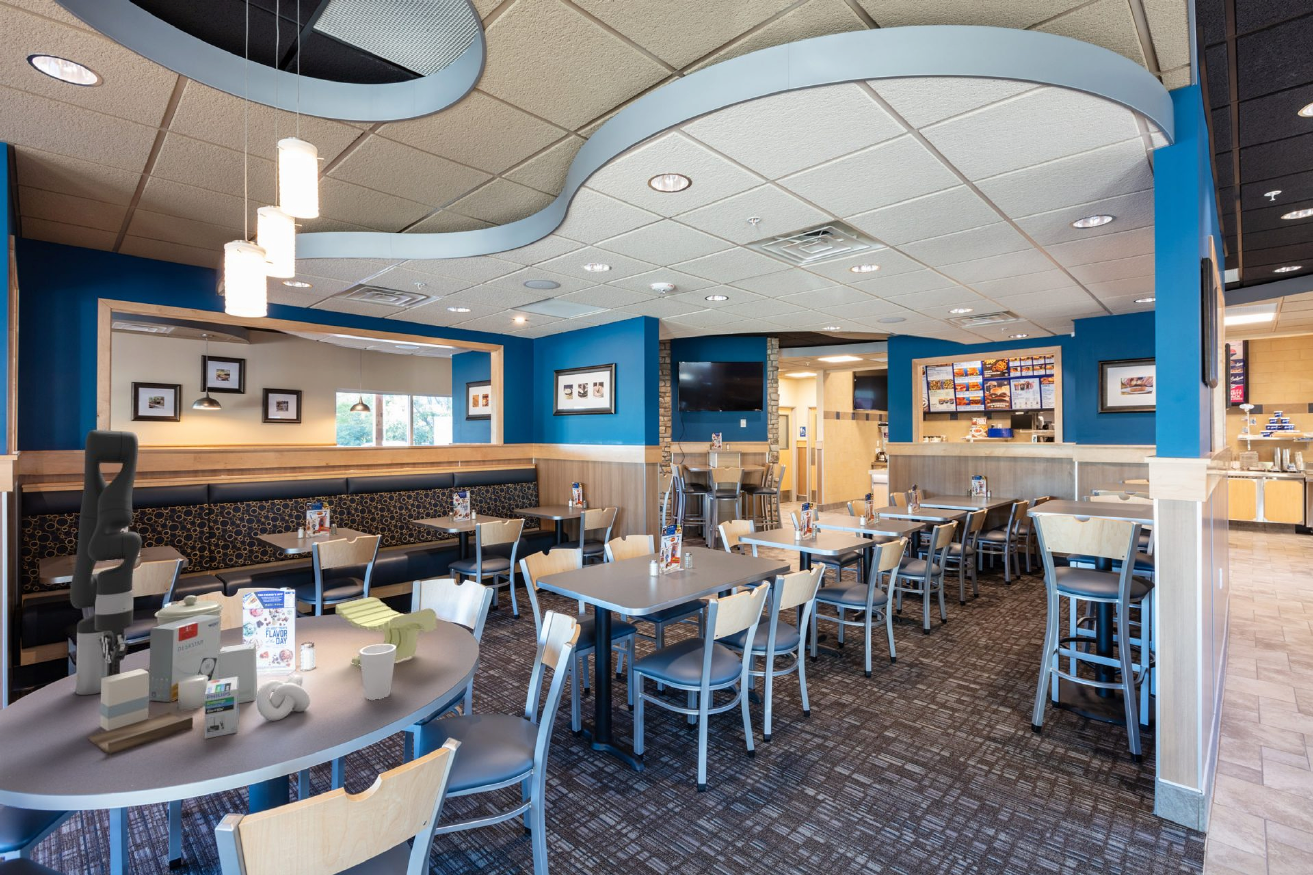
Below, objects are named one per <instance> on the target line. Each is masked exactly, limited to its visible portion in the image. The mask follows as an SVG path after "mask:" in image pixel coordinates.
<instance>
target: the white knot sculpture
mask: <svg viewBox="0 0 1313 875" xmlns="http://www.w3.org/2000/svg"><path fill="white" fill-rule="evenodd" d="M302 684H303V677H302V676H301V675H300V674H293V675H292V676H291V677H289V678H288V680H287V681H286V682H283V681H281V680H277V679H271V680H268V681H266V682H264V683H263V684H261V686H260V688H259V689H258V690H257V695H256V707H257V709H258V710H257V711H258V712H259V713H260V715H261V716H262V717H263V719H266V720H268V721H272V722H276V721H279V720H282V719H284V718H286V717H287V716H288V715H289V714H290V713H291V712H292V711H295V712H298V713H301V712H303V711H306V710H307V709H308V708H309V706H310V703H311V699H310V695H309V694H308V692H307V691H306V690H305V689H304V688H303V687H302Z"/></svg>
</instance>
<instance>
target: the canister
mask: <svg viewBox="0 0 1313 875" xmlns="http://www.w3.org/2000/svg"><path fill="white" fill-rule="evenodd" d="M197 599H198V598H197V596H196V595H187V596H185V597H184V598H183V602H179V603H174V604H172V605H167V606H165V607H163V608H160V610H158V611H156V612H155V613H154V617H155V618H157V626H161V625H165V624H168V623H172V622H176V621H179V620H183V619H187V618H190V617H194V616H198V615H214V616H221V612H222V610H223V609H224V604H222V603H220V602H219V601H218V602H217V601H216V600H215V601H214V600H197Z"/></svg>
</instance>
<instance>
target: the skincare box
mask: <svg viewBox="0 0 1313 875" xmlns="http://www.w3.org/2000/svg"><path fill="white" fill-rule="evenodd" d="M256 644H257V643H256V642H249V643H243V644H237V645H230V646H222V647H220V652H219V654H218V665H219V679H225V678H232V677H239V704H242V703H249V702H255V699H256V698H257V694H258V674H257V671H258V670H257V667H258V666H257V645H256Z"/></svg>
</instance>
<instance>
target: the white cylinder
mask: <svg viewBox="0 0 1313 875" xmlns="http://www.w3.org/2000/svg"><path fill="white" fill-rule="evenodd" d="M207 683H208V676H206V675H195V676H190V677H186V678H183V679H181V680H179V681H178V699H177V710H178V711H179V710H180V711H191V710H195V709H199V708H202V707H205V692H206V687H207Z"/></svg>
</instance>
